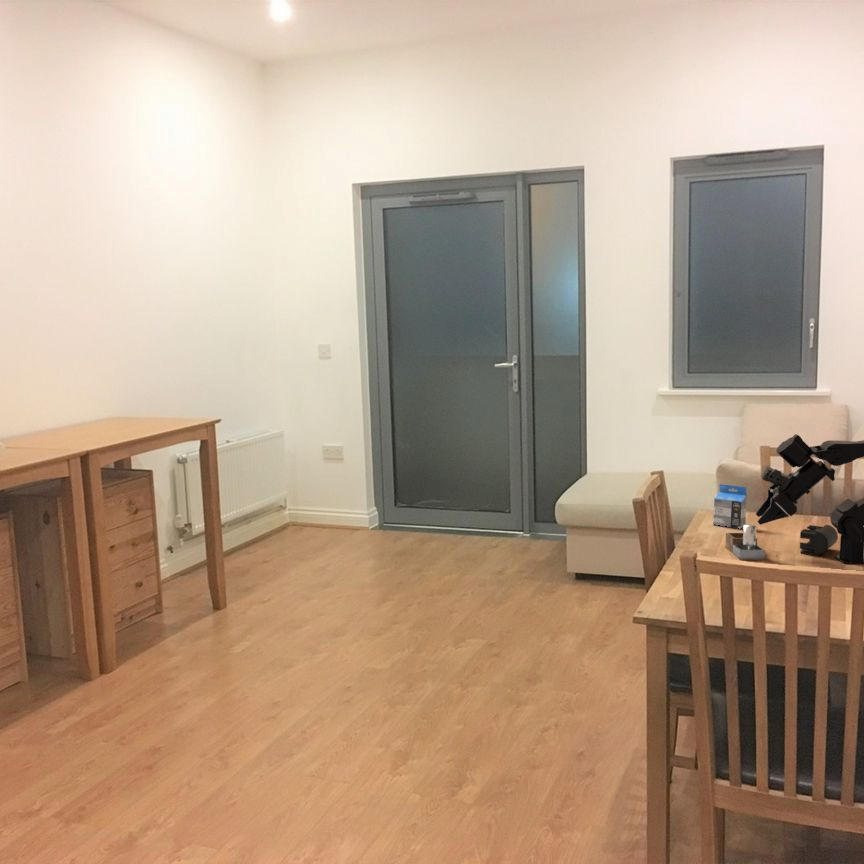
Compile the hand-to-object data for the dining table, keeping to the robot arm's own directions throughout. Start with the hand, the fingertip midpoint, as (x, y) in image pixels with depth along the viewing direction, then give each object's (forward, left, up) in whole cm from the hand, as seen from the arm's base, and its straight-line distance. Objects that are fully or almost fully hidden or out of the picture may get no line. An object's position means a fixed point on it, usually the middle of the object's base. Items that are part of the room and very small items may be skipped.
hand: (757, 519), depth 241 cm
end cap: (+5, -18, -10) cm, 21 cm away
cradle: (0, +2, -10) cm, 10 cm away
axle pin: (0, +2, -10) cm, 10 cm away
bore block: (+7, +2, -10) cm, 12 cm away
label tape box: (+35, -3, -10) cm, 36 cm away
